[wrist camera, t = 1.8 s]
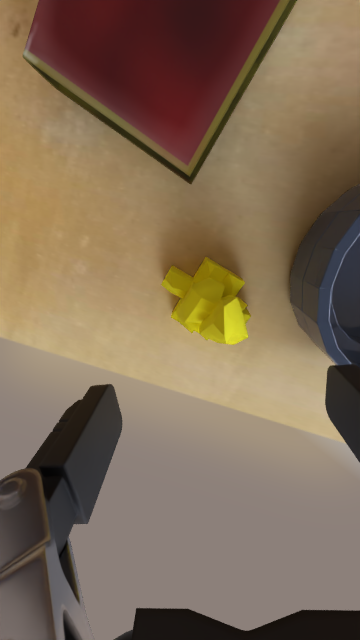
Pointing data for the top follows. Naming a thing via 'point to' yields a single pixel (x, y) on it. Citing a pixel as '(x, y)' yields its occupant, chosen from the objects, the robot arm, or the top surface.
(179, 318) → the yellow faceted lump
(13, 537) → the robot arm
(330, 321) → the bowl
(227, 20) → the hardcover book
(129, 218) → the top surface
